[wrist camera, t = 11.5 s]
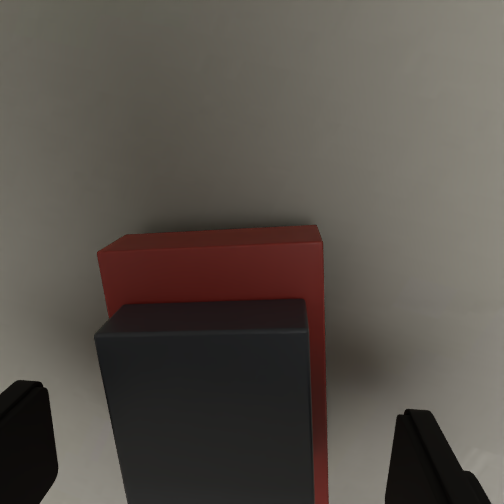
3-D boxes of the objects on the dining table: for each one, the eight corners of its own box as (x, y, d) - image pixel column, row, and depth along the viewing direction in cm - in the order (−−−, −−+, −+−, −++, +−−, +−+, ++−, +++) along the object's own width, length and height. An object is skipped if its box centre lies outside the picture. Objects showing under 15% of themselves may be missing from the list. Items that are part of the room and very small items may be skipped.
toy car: (57, 274, 9) (331, 263, 8) (136, 227, 13) (314, 217, 13) (123, 571, 11) (336, 579, 10) (170, 444, 16) (320, 445, 15)
